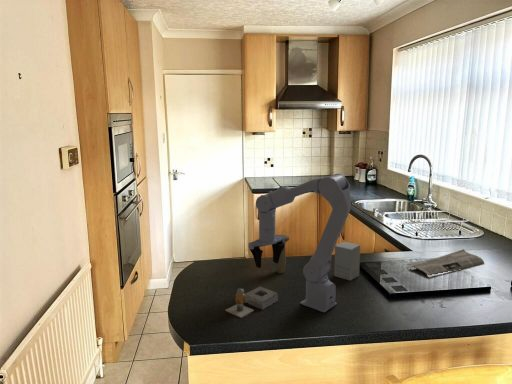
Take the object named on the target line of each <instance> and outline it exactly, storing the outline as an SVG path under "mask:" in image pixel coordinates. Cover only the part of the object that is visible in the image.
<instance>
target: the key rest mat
mask: <svg viewBox="0 0 512 384" xmlns="http://www.w3.org/2000/svg"><path fill="white" fill-rule="evenodd" d="M254 311H255V310H254V309H253V308H250V307H248V306H246V305H244V306H243V311H237V303H235V304H234V305H232V306H231V307H229V308H226V309H225V312H227V313H229V314H232V315H233V316H235V317H238V318H240V319H242V318H244V317H246V316H247V315H249V314H252V313H253V312H254Z"/></svg>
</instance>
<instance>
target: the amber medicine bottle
mask: <svg viewBox="0 0 512 384" xmlns="http://www.w3.org/2000/svg"><path fill="white" fill-rule="evenodd" d="M235 304H237V311H243V306H245V305H244V304H245V289H244V288H243V287H238V288H237V291H236V292H235Z"/></svg>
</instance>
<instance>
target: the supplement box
mask: <svg viewBox="0 0 512 384" xmlns="http://www.w3.org/2000/svg"><path fill="white" fill-rule="evenodd" d="M360 258H361V245H360V244H357V243H352V242H347V241H342V242H341V243H338V244H336V245H335V247H334V277H337V278H340V279H342V280H347V281H352V280H354V279H356V278H357V277H359V276H360V261H361V259H360Z"/></svg>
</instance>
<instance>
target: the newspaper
mask: <svg viewBox="0 0 512 384" xmlns="http://www.w3.org/2000/svg"><path fill="white" fill-rule="evenodd" d="M484 264H485V261H484V259H483V258H481V257H480V256H478V255H475V254H473V253H470V252H468V251H466V250H465V249H464V248H463V249H460V250H457V251H455V252H451V253H448V254H445V255H442V256H438V257H435V258H429V259H426V260H425V259H424V260H422V261H421V260H420V261H416V262H411V263H407V264H406V266H408V267H414V268H416V269H419V270H420V271H421V272H423V273H425V275H427V274H428V275H432V274H438V273H443V272H448V271H454V270H458V271H462V270H465V269H469V268H473V267H477V266H481V265H484ZM459 269H461V270H459ZM419 270H418V271H419Z"/></svg>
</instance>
